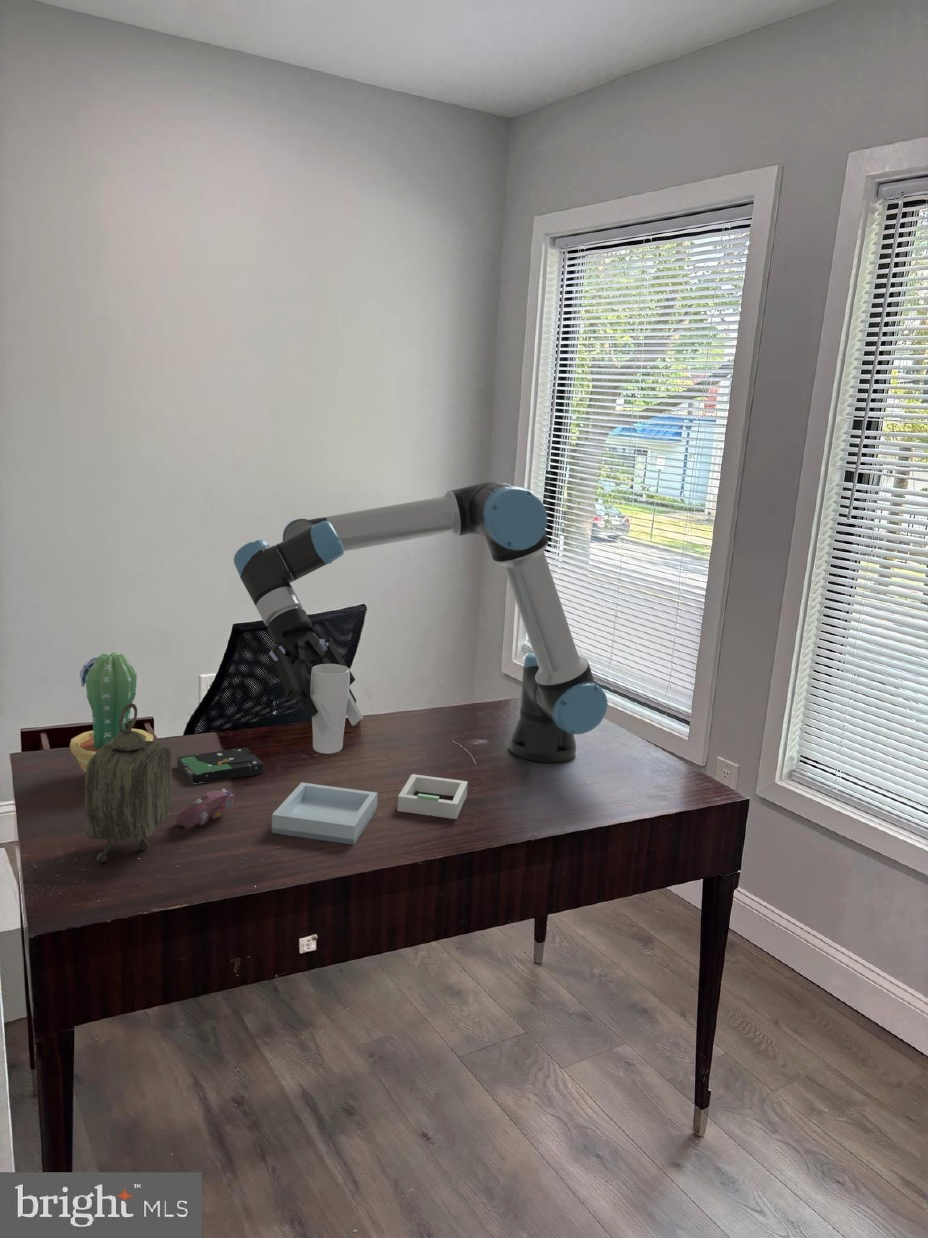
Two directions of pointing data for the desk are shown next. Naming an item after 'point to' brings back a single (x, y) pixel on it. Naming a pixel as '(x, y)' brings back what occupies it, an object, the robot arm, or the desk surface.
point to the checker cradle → (429, 802)
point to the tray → (325, 813)
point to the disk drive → (220, 765)
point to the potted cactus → (105, 703)
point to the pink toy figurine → (206, 807)
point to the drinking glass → (330, 704)
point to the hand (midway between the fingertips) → (342, 725)
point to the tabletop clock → (127, 788)
